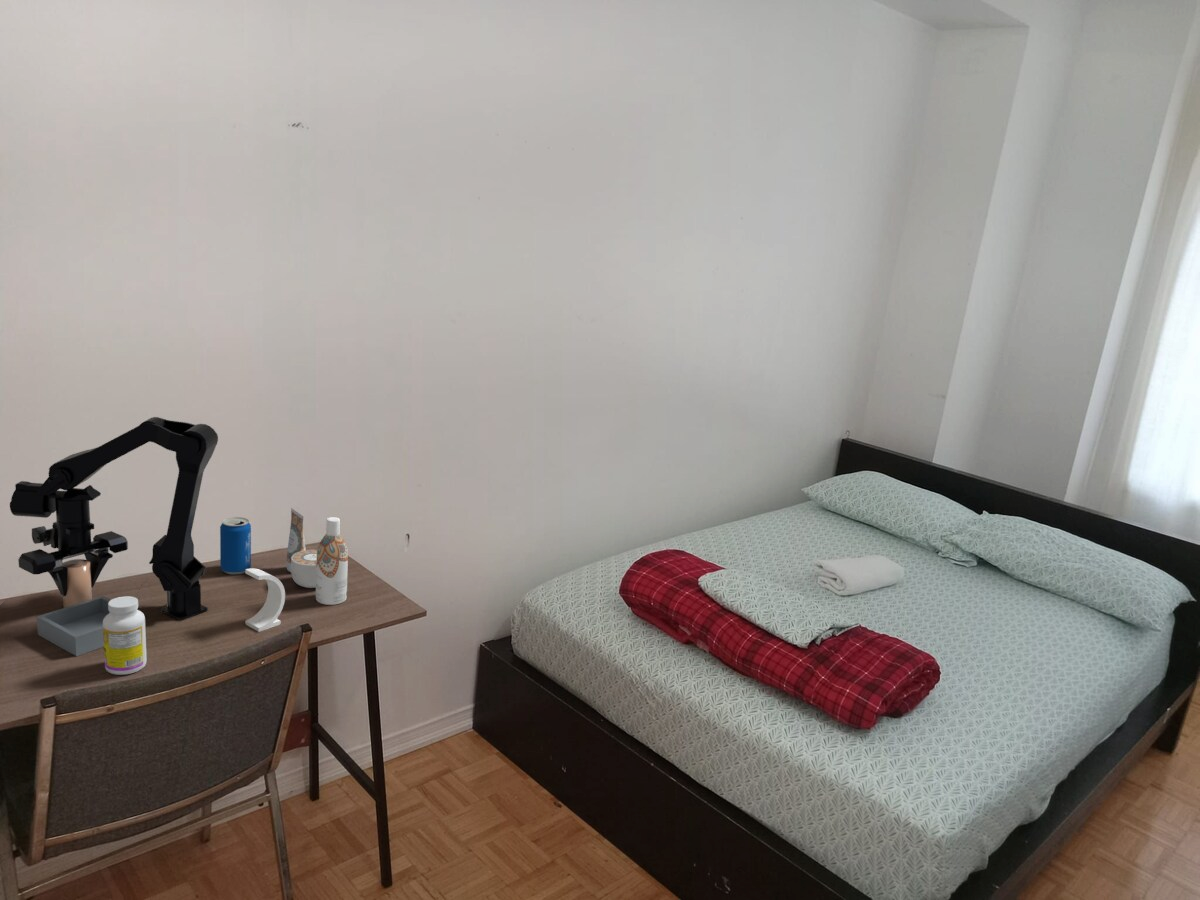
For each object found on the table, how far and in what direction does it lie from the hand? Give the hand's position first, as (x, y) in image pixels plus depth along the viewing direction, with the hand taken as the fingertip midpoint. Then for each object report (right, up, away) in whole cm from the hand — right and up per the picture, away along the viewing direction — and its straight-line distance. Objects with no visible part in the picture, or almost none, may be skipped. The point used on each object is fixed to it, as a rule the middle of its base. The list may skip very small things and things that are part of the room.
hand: (77, 591), depth 177 cm
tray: (+8, -7, -10) cm, 14 cm away
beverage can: (+22, +1, +25) cm, 33 cm away
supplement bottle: (+20, -11, -20) cm, 30 cm away
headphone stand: (+38, -7, +1) cm, 38 cm away
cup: (0, -3, +1) cm, 3 cm away
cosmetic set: (+41, -2, +22) cm, 46 cm away
